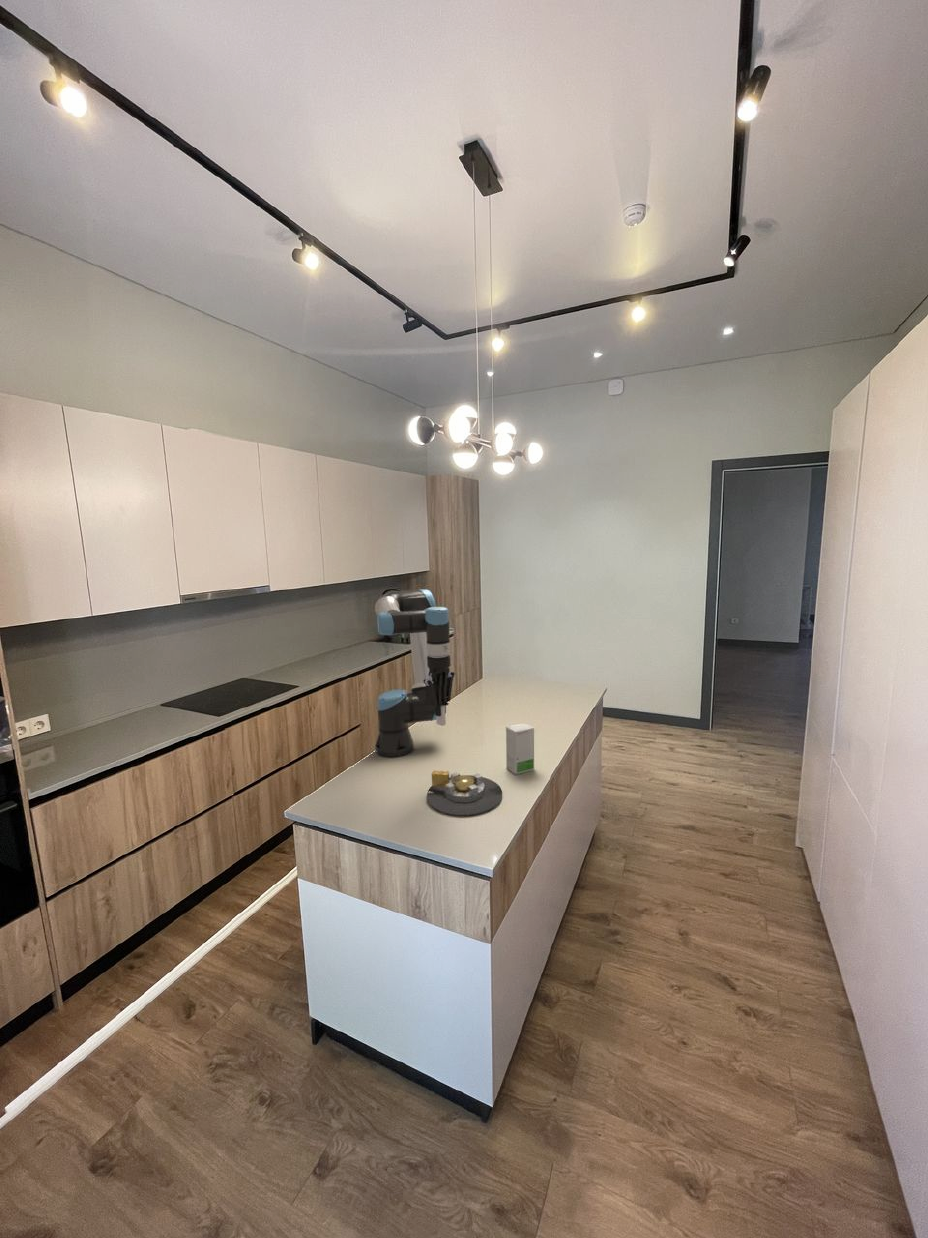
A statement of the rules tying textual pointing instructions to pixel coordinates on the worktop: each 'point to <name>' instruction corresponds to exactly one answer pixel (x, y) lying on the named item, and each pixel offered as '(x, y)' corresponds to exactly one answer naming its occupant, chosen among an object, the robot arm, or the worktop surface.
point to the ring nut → (449, 786)
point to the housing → (473, 808)
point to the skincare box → (520, 748)
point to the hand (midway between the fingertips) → (441, 724)
